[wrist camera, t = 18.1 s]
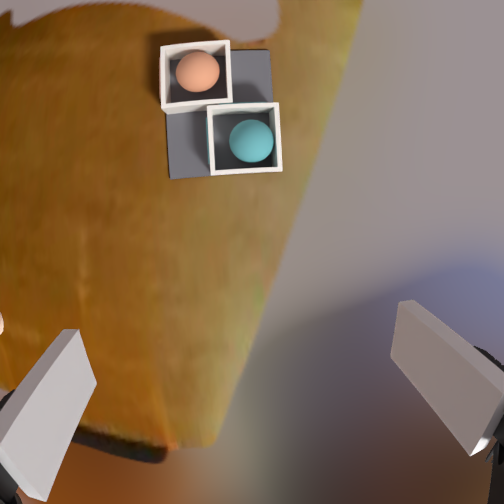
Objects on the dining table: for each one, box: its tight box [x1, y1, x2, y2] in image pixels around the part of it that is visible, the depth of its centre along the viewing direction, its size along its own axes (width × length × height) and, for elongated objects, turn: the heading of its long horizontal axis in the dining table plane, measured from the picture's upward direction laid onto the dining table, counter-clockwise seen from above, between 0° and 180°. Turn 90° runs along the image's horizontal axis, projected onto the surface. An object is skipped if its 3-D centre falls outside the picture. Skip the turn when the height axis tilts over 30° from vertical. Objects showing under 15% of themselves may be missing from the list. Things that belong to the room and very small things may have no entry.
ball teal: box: [229, 120, 274, 163], centre depth 34 cm, size 5×5×5 cm
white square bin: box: [206, 102, 282, 175], centre depth 35 cm, size 8×8×4 cm
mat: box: [166, 50, 273, 179], centre depth 35 cm, size 16×13×1 cm
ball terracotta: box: [176, 52, 220, 92], centre depth 31 cm, size 5×5×5 cm
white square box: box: [159, 40, 233, 114], centre depth 32 cm, size 8×8×4 cm
